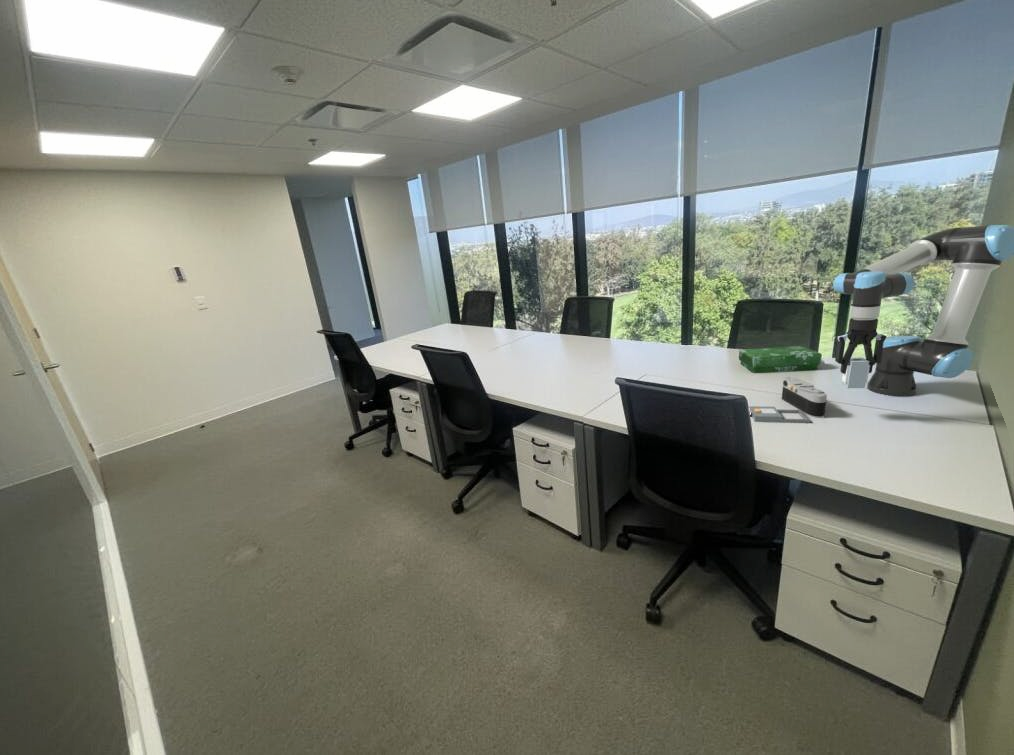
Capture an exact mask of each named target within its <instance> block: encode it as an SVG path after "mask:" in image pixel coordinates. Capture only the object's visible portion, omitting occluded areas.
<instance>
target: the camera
mask: <svg viewBox="0 0 1014 755" xmlns="http://www.w3.org/2000/svg"><path fill="white" fill-rule="evenodd" d="M782 381H783V382H782V391H781V400H782V401H784V402H786V403H787V404H789V405H790V406H792V407H793V408H795V409H796V410H801V411H802V412H803V413H804V414H805V415H806V416H807V417H810V418H814V419H821V418H824V417H825V412H826V404H827V399H828V393H826V392H824V391H823V389H818V388H816V387H814V386H815V384H812V383H811V382H810V383H809V382H807V381H805V380H803V379H801V378H800V377H797V376H793V377H791V376H786V377H784V378H783V380H782Z"/></svg>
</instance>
